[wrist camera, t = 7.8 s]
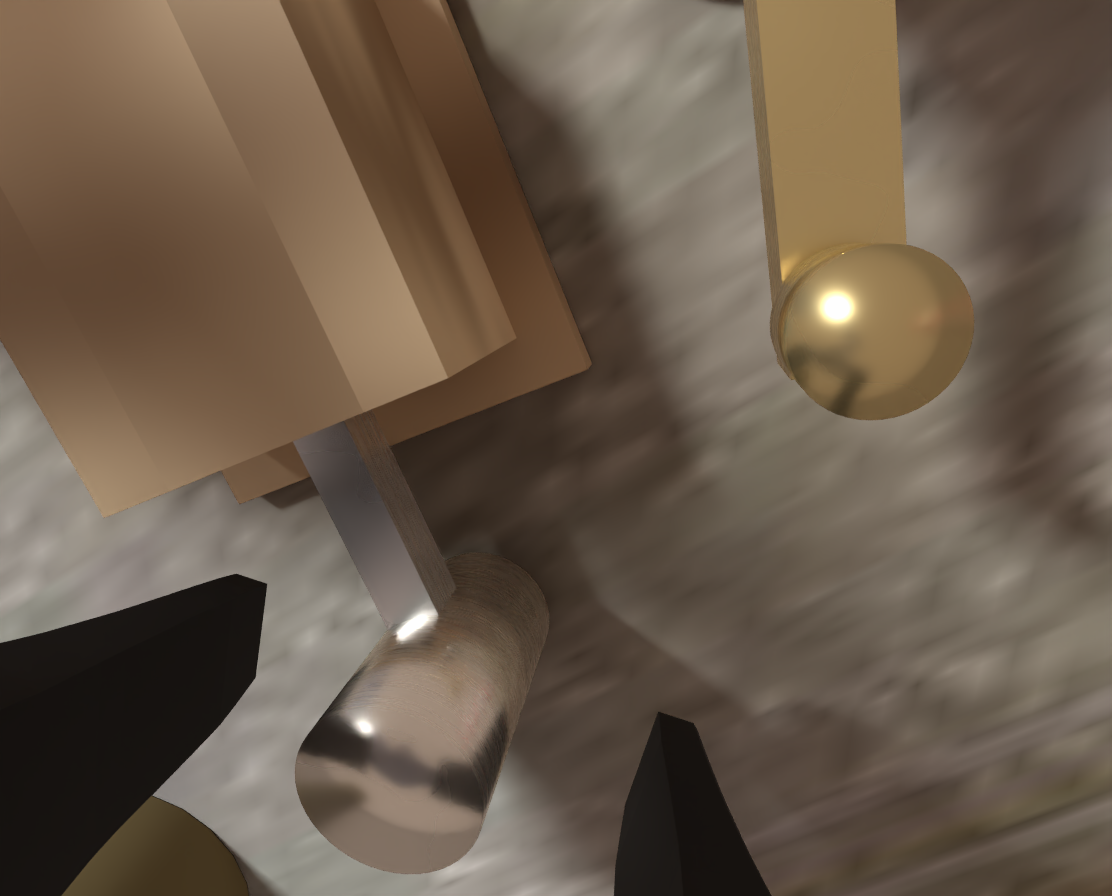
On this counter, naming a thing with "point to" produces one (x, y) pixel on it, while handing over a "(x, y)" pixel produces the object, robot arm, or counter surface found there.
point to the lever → (846, 214)
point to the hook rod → (414, 671)
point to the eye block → (258, 234)
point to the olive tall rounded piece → (161, 859)
